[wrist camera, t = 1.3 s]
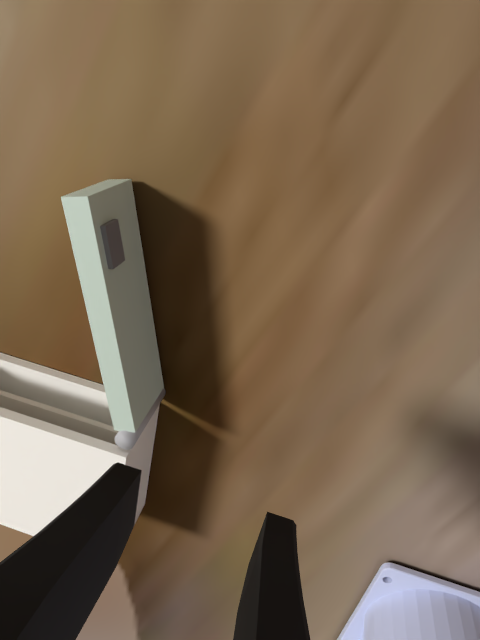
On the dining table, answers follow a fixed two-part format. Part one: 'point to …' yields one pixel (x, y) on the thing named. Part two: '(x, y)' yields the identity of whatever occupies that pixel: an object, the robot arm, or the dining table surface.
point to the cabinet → (57, 443)
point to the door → (117, 302)
